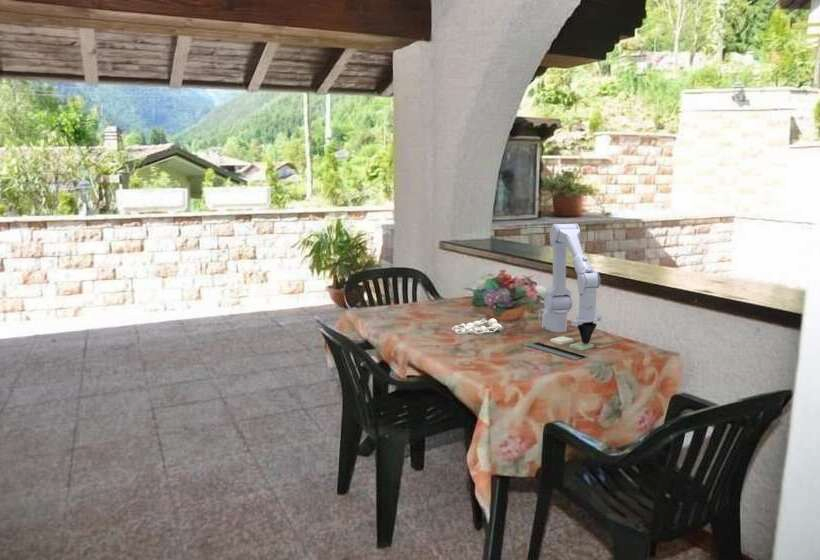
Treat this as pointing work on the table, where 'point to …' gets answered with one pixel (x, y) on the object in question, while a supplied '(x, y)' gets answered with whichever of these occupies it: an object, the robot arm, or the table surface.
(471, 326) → the tangled rod sculpture
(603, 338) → the board
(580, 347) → the tile sage
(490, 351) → the table surface
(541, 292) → the lollipop
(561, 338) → the tile cream
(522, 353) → the table surface
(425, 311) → the table surface
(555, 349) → the mat
